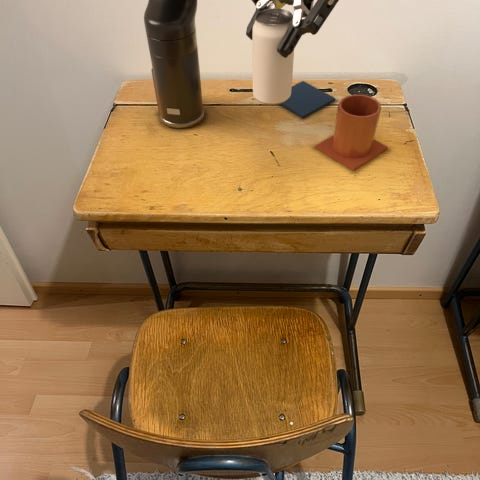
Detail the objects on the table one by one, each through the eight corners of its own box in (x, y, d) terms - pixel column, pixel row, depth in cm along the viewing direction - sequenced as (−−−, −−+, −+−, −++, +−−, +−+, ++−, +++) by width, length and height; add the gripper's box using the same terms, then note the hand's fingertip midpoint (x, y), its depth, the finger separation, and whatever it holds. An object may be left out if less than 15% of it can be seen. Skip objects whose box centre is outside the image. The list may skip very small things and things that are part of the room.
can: (250, 104, 77) (249, 25, 67) (255, 84, 80) (255, 6, 70) (289, 107, 76) (294, 27, 66) (292, 86, 80) (297, 7, 70)
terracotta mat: (315, 147, 92) (315, 145, 92) (349, 128, 96) (349, 125, 95) (353, 171, 88) (354, 168, 87) (387, 149, 91) (388, 147, 91)
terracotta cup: (323, 148, 92) (330, 105, 85) (349, 132, 95) (357, 89, 88) (352, 165, 89) (361, 122, 81) (378, 149, 91) (389, 106, 84)
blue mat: (270, 99, 103) (270, 96, 102) (302, 83, 106) (303, 80, 106) (302, 118, 98) (303, 115, 98) (335, 100, 102) (335, 98, 101)
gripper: (281, -101, 65) (221, 17, 71) (358, -78, 59) (286, 50, 64) (305, -64, 72) (248, 42, 77) (377, -39, 65) (309, 75, 71)
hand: (265, 46), depth 71 cm, fingers closed on can, 6 cm apart
